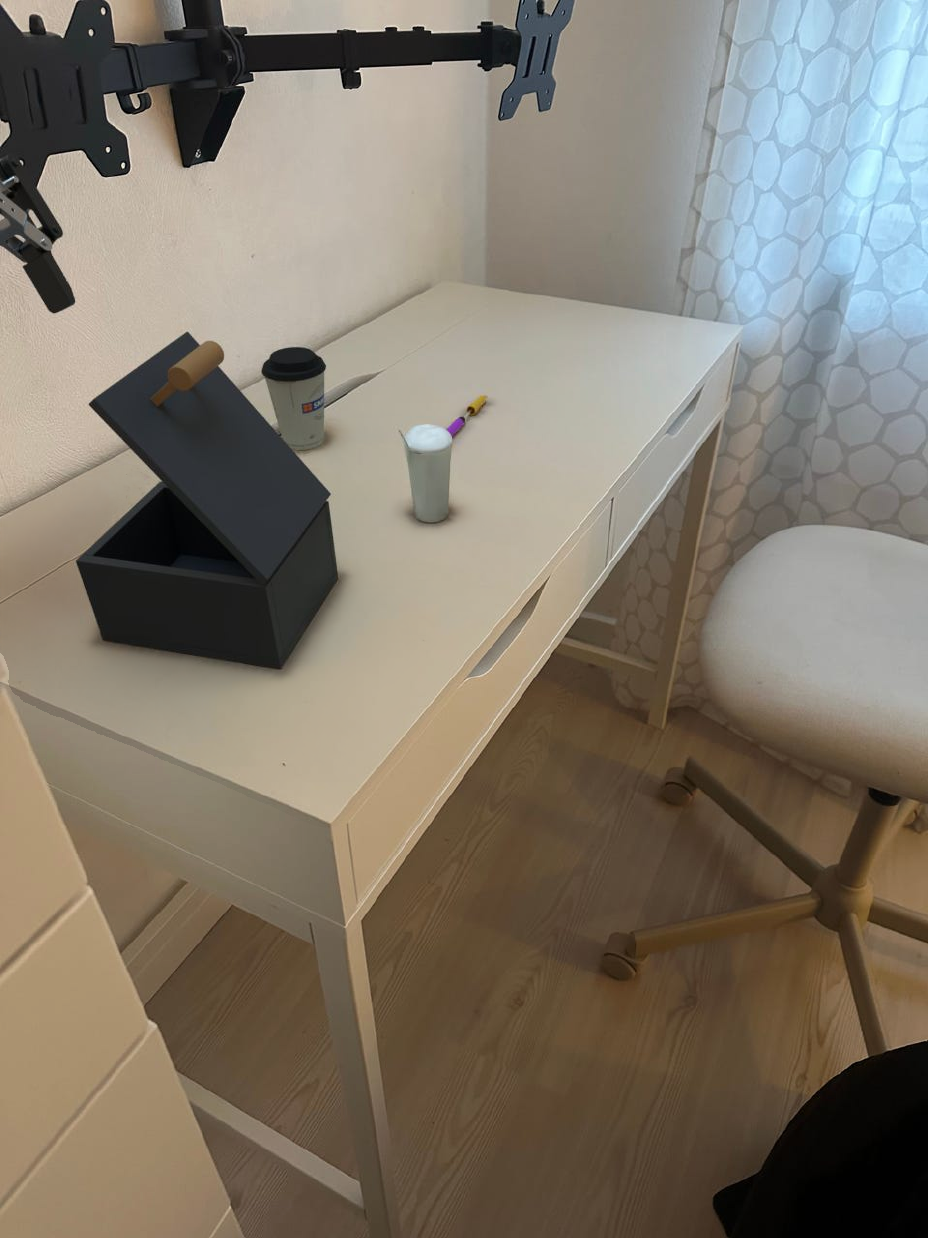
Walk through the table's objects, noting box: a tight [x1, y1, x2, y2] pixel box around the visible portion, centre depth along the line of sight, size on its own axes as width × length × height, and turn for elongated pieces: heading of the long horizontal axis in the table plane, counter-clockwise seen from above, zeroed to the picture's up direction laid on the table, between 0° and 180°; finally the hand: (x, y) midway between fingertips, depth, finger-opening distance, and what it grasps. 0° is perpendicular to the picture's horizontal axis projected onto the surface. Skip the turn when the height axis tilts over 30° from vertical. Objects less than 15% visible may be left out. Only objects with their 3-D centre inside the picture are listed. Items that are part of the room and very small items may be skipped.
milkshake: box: [397, 423, 453, 524], centre depth 85 cm, size 5×5×10 cm
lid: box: [88, 331, 332, 584], centre depth 66 cm, size 17×13×5 cm
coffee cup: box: [260, 346, 327, 451], centre depth 98 cm, size 7×7×10 cm
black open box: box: [75, 481, 339, 670], centre depth 74 cm, size 16×13×8 cm
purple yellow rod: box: [445, 394, 488, 437], centre depth 103 cm, size 3×1×16 cm
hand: (26, 323), depth 63 cm, fingers open, 8 cm apart
